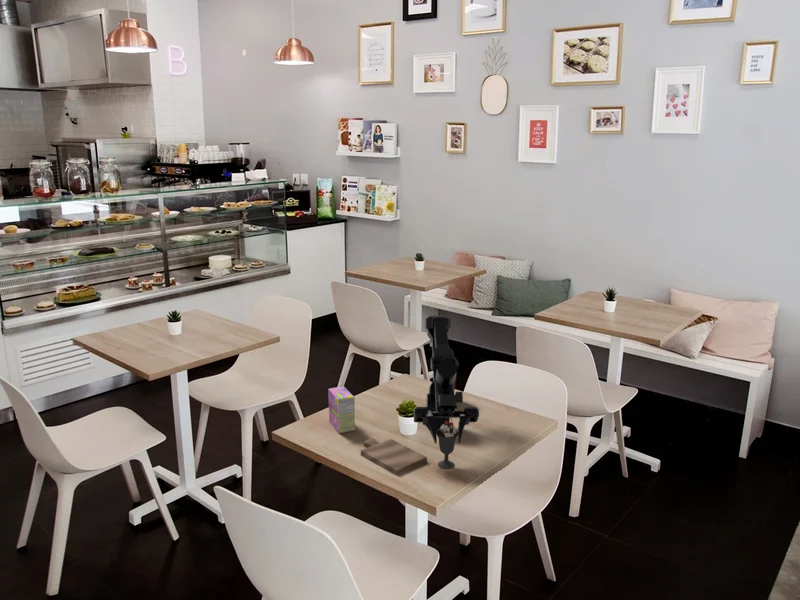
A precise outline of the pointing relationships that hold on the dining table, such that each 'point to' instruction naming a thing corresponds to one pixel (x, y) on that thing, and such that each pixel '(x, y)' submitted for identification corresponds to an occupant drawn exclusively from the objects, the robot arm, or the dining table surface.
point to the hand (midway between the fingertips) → (447, 442)
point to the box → (341, 409)
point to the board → (392, 455)
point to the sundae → (447, 442)
